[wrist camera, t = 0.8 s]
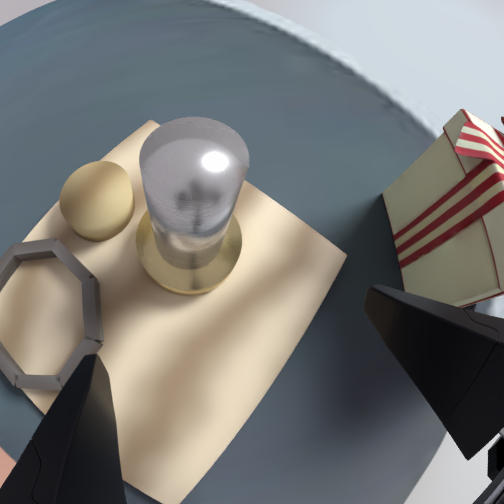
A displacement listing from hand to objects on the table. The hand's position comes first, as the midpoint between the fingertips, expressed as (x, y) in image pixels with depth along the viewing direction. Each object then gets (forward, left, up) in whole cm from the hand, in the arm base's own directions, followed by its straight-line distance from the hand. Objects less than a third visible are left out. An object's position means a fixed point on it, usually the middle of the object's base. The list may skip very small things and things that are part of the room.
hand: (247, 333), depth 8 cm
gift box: (-15, -21, -14) cm, 29 cm away
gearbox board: (+6, 0, -13) cm, 15 cm away
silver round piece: (+6, -5, -12) cm, 14 cm away
